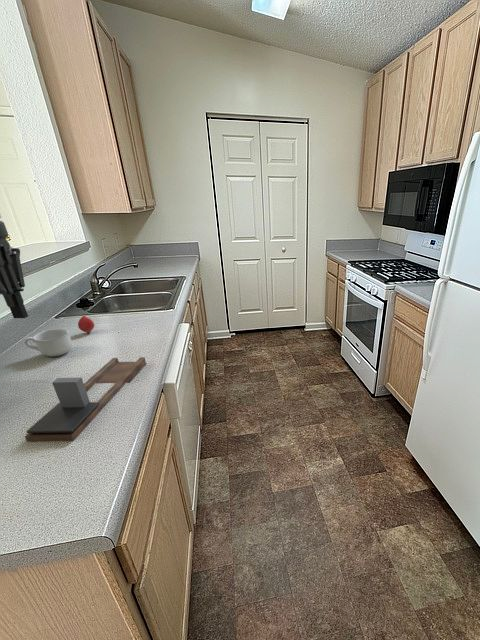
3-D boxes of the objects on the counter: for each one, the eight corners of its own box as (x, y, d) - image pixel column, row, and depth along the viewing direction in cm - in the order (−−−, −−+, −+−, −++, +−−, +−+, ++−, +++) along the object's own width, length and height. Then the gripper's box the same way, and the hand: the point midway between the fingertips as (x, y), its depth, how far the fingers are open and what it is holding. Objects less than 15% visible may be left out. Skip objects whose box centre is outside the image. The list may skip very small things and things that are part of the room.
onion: (80, 336, 140) (74, 318, 137) (81, 331, 145) (76, 314, 141) (95, 334, 142) (90, 316, 139) (97, 329, 147) (91, 312, 143)
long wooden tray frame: (114, 364, 116) (112, 357, 115) (146, 363, 116) (144, 357, 115) (28, 445, 79) (24, 436, 77) (75, 444, 79) (71, 435, 77)
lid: (59, 404, 89) (48, 377, 85) (99, 403, 89) (90, 377, 85) (27, 433, 78) (13, 404, 74) (72, 432, 78) (60, 403, 74)
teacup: (79, 346, 130) (73, 327, 127) (67, 358, 121) (59, 338, 117) (40, 349, 128) (32, 330, 125) (24, 361, 119) (16, 341, 115)
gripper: (-26, 222, 71) (16, 325, 81) (19, 218, 83) (51, 309, 93) (-62, 222, 71) (-14, 326, 81) (-11, 218, 83) (25, 309, 93)
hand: (21, 317), depth 87 cm, fingers closed
